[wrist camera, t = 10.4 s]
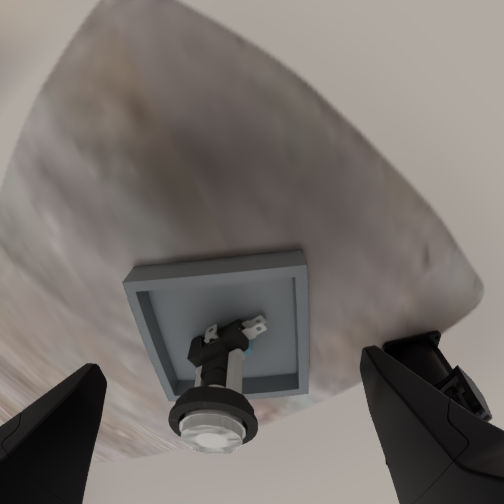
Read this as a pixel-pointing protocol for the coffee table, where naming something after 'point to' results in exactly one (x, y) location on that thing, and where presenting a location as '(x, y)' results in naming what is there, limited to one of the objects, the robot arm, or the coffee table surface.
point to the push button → (218, 391)
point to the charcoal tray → (226, 317)
